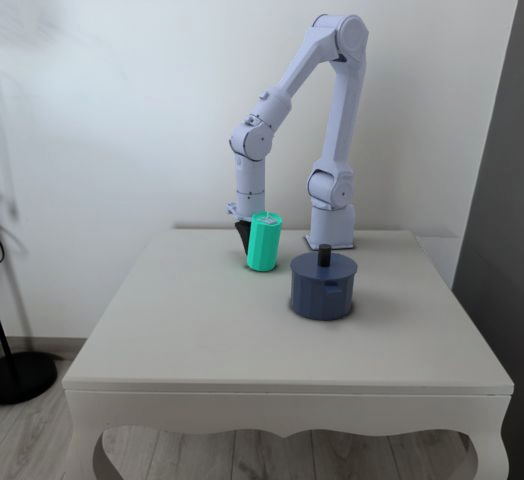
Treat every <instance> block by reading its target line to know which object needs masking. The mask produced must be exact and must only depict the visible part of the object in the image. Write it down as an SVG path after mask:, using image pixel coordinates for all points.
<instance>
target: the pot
mask: <svg viewBox="0 0 524 480" xmlns="http://www.w3.org/2000/svg"><path fill="white" fill-rule="evenodd" d="M355 276H356V274H355V275H354V276H352V277H351V278H348V279H346V280H342V281H336V282H319V281H312V280H308V279H305V278H302V277H300V276H298V275H296V274H295V273H294V272H293V271H292V270H291V283H290V307H291V309H292V311H294V313H296V314H298V315H299V316H301V317H304V318H306V319H310V320H315V321H316V320H317V321H332V320H337V319H340V318H343V317H345V316H346V315H348V314H349V313H350V311H351V307H352V302H353V294H354V284H355Z"/></svg>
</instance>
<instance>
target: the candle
mask: <svg viewBox="0 0 524 480" xmlns="http://www.w3.org/2000/svg"><path fill="white" fill-rule="evenodd" d="M270 216H271V217H272V218H273V219H275V220H277V221H278V224H275V225H267V224H266V223H263V222H261V221H259V220H256V219H263V217H265V218H267V219H270V220H272V219H271V218H268V217H270ZM264 221H267V220H265V219H264ZM282 226H283V220H282V218H281V216H280V215H279V214H278V213H275V212H270V211H269V210H268V211H266V210H265V211H262V212H261V213H260V214H257V213H255V214H254V215H253V216H252V222H251V231H250V239H249V247H248V256H247V255H246V256H247V257H246V258H247V259H246V265H247V266H248V267H249V268H251V269H252V270H255V271H258V272H269V271H271V270H272V271H273V270H274V268H275V267H276V262H277V258H278V257H277V256H278V251H279V245H280V238H281V233H282V228H283V227H282Z"/></svg>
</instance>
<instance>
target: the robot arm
mask: <svg viewBox="0 0 524 480" xmlns="http://www.w3.org/2000/svg"><path fill="white" fill-rule="evenodd" d="M369 34H370V31H369V29H368V28H367V26H366V24H365V22H364V20H363V19H362V18H361V17H360V16H359V15H358V14H354V13H352V14H351V13H350V14H328V13H321V14H319V15H317V16H316V17H315V18H314V19H313V20H312V21H311V25H310V26H309V27H308V28H307V29H306V30H305V31H304V35H303V41H302V43H301V45H300V46H299V48H298V50H297V51H296V53H295V55H294V57H292V59H291V62H290V63H289V65H288V67H287V68H286V69H285V71H284V73H283V75H282V76H281V78H280V80H279V82H278V83H277V85H276V86H272V87H268V88H266V90H265V91H264V90H261V92H260V94H259V95H258V98H259V100H258V101H257V103H256V104H255V106H254V107H253V108H252V110H251V112H250V113H249V115H246V116H245V118H244V122H243V123H240V124H238V125H237V126H236V127H235V128H234V129H233V131H232V133H231V138H229V139H228V145H229V148H230V150H231V151H232V152H233V154H234V162H235V194H236V195H235V197H236V198H235V199H236V201H235V202H229V203H225V214H227V215H232V219H234V220H236V222H234V228H235V229H236V231H237V233H238V235H239V237H240V240H241V242H242V246H243V249H244V254H245V256H248V247H249V239H250V231H251V222H252V216H253V215H254V214H255V213H257V214H260V213H261V212H262V211H266V158H267V156H268V155H269V154H270V153H271V151H272V147H273V140H274V137H275V134H276V132H277V131H278V130H279V128H280V127H281V125H282V124H283V122H284V121H285V119H286V118H287V116H288V115H289V113H290V112H291V111H292V108H293V106H292V105H293V104H292V98H293V97H294V95H296V93H297V92H298V91H299V90H300V88H301V87H302V86H303V85H304V83H305V82H306V80H307V79H308V78H309V77H310V75H312V73H313V72H314V71H315V69H316V68H317V67H318V65H320V64H322V63H327V62H329V64H330V66H331V67H332V69H333V70H334V72H335V74H336V75H335V81H334V85H333V91H332V96H331V102H330V108H329V114H328V115H329V116H328V120H327V125H326V131H325V135H324V136H325V137H324V142H323V148H322V151H321V152H322V153H321V156H320V157H319V158H318V159H317V160H316V161H315V162H313V164H312V169H311V172H310V174H309V176H308V177H307V180H306V184H305V186H306V187H305V188H306V189H305V190H306V192H307V195H308V196H309V197H310V202H311V217H310V218H311V219H310V233H309V234H306V235H305V236H304V237H305V239H306V241H307V243H308V244H309V246H310V248H311V250H314V251H315V250H318V249H319V245H320V244H329V245H331V246H332V250H335V249H336V250H337V249H351V248H352V249H353V248H354V245H353V244H354V232H355V224H356V211H355V207H354V204H352V203H351V201H352V199H353V197H354V192H355V187H354V177H355V172H354V171H353V170H354V169H352V167H351V165H350V163H349V161H348V159H349V155H350V149H351V144H352V140H353V135H354V131H355V125H356V121H357V117H358V111H359V105H360V101H361V100H360V99H361V96H362V90H363V85H364V81H365V75H366V71H367V54H366V53H367V52H366V49H367V44H368V39H369ZM268 218H271V219H272V220H270V219H267V218H265V217H263V219H256V220H259V221H261V222H263V223H266V224H267V225H275V224H278V221H277V220H275V219H273V218H272V217H271V216H270V217H268ZM264 219H265V220H267V221H264Z"/></svg>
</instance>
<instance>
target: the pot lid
mask: <svg viewBox="0 0 524 480" xmlns="http://www.w3.org/2000/svg"><path fill="white" fill-rule="evenodd" d="M317 250H318V251H310V252H304V253H301V254H298V255H296V256H295V257H293V258H292V259H291V260H290V263H289V264H290V267H289V268H290V271H291V272H292V271H293V272H294V273H295V274H296V275H298V276H300V277H302V278H305V279H308V280H312V281H319V282H336V281H342V280H346V279H348V278H351V277H352V276H354V275H355V276H356V274H357V273H358V268H359V267H358V264H357V262H356V261H355V260H354V259H353V258H351V257H350V256H347V255H344V254H341V253H338V252H332V250H333V249H332V246H331V245H329V244H320V245H319V249H317Z"/></svg>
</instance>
